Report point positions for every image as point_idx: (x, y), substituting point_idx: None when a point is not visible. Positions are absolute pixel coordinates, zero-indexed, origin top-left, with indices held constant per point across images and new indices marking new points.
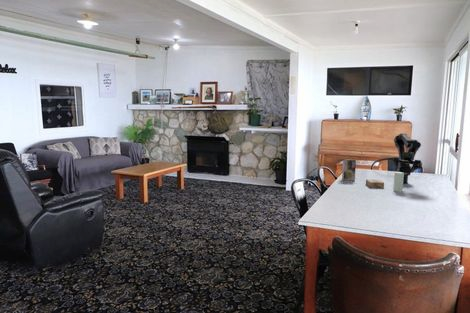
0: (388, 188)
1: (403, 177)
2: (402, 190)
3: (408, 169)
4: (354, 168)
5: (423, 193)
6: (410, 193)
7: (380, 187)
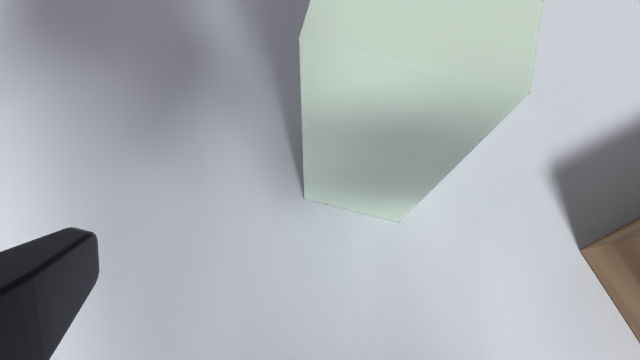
0: (516, 269)
1: (302, 103)
2: (304, 195)
3: None
4: None
5: (15, 219)
6: (191, 113)
7: (625, 225)
